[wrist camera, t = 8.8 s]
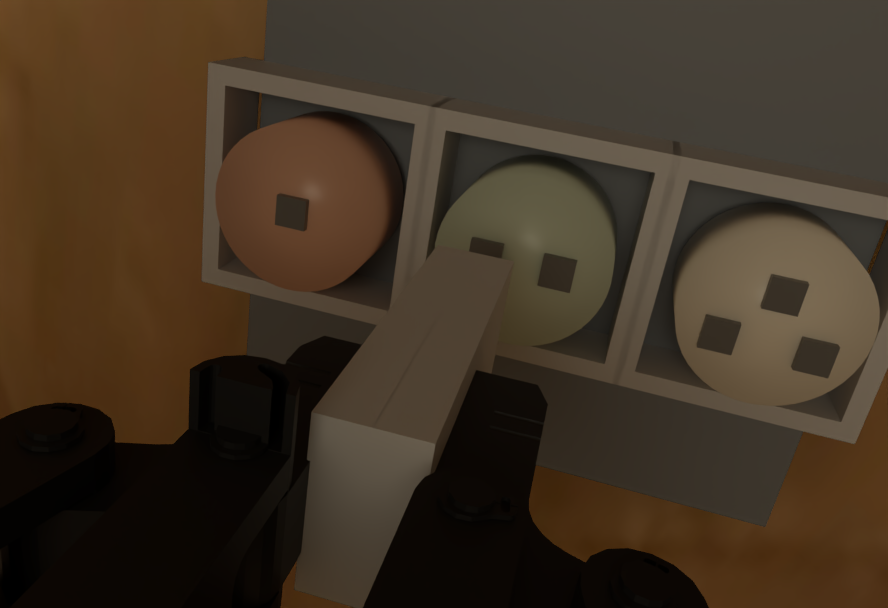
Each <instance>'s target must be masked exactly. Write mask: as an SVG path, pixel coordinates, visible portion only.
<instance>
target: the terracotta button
mask: <svg viewBox="0 0 888 608" xmlns="http://www.w3.org/2000/svg"><path fill="white" fill-rule="evenodd" d="M403 197H404V195H403V183H402V178H401V174H400V171H399V167H398V165H397V163H396V160H395V158H394V156H393V154H392V153H391V151H390V149H389V148H388V146H387V145H386V144H385V142H384V141H383V140H382V139H381V138H380V137H379V136H378V135H377V134H376V133H375V132H374V131H373V130H372V129H371V128H369V127H368V126H367V125H365V124H364V123H362V122H360V121H359V120H357V119H355V118H352V117H350V116H348V115H345V114H341V113H337V112H330V111H316V112H309V113H305V114H302V115H299V116H296V117H293V118H290V119H287V120H284V121H281V122H278V123H275V124H272V125H269V126H266V127H263V128H260V129H258V130H256V131H254V132H251V133H249V134H248V135H247V136H245V137H244V138H242V139H241V140H240V141H239V142H238V143H237V144H236V145H235V146H234V147H233V148H232V149H231V150H230V152H229V153H228V154H227V156H226V158H225V160H224V161H223V163H222V166H221V168H220V171H219V174H218V178H217V183H216V192H215V199H216V210H217V216H218V220H219V223H220V227H221V229H222V232H223V234H224V236H225V238H226V240H227V242H228V244H229V246H230V247H231V249H232V250H233V252H234V253H235V255H236V256H237V257H238V258H239V259H240V261H241V262H242V263H243V264H244V265H245V266H246V267H247V268H248V269H249V270H251V271H252V272H253V273H255V274H256V275H257V276H258V277H260V278H262V279H263V280H265V281H267V282H269V283H271V284H273V285H275V286H277V287H281V288H284V289H287V290H292V291H300V292H312V291H320V290H324V289H328V288H330V287H333V286H336V285H337V284H339V283H341V282H343V281H344V280H346V279H347V278H348V277H350V276H351V275H352V274H353V273H354V272H355V271H356V270H358V269H359V268H360V267H361V266H362V265H363V264H364V263H365V262H366V261H367V260H368V259H369V258H370V257H371V256H373V255H374V254H375V253H376V252H377V251H378V250H379V249H380V248H381V247H382V246H383V245H384V244H385V243H386V242H387V241H388V240H389V238H390V237H391V236H392V234H393V233H394V231H395V229H396V227H397V225H398V222H399V219H400V217H401V212H402V208H403Z"/></svg>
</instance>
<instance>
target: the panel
mask: <svg viewBox="0 0 888 608" xmlns="http://www.w3.org/2000/svg"><path fill="white" fill-rule="evenodd" d="M259 92H260V93H262V105H261V122H260V128H263V127H266V126H269V125H272V124H275V123H278V122H281V121H284V120H287V119H290V118H293V117H296V116H299V115H302V114H305V113H309V112H316V111H330V112H337V113H341V114H345V115H348V116H350V117H352V118H355V119H357V120H359V121H360V122H362V123H364V124H365V125H367V126H368V127H369V128H371V129H372V130H373V131H374V132H375V133H376V134H377V135H378V136H379V137H380V138H381V139H382V140H383V141H384V142H385V144H386V145H387V146H388V148H389V149H390V151H391V153H392V154H393V156H394V158H395V160H396V163H397V165H398V167H399V171H400V174H401V178H402V183H403V195H404V197H403V208H402V212H401V217H400V219H399V222H398V225H397V227H396V229H395V231H394V233H393V234H392V236H391V237H390V238H389V240H388V241H387V242H386V243H385V244H384V245H383V246H382V247H381V248H380V249H379V250H378V251H377V252H376V253H375V254H374V255H373V256H371V257H370V258H369V259H368V260H367V261H366V262H365V263H364V264H363V265H362V266H361V267H360V268H359V269H358V270H356V271H355V272H354V273H353V274H352V275H351V276H350V277H348V278H347V279H346V280H344V281H343V282H341V283H339V284H337V285H336V286H333V287H330V288H328V289H324V290H320V291H312V292H300V291H292V290H287V289H284V288H281V287H277V286H275V285H273V284H271V283H269V282H267V281H265V280H263V279H262V278H260V277H258V276H257V275H256V274H255V273H253V272H252V271H251V270H249V269H248V268H247V267H246V266H245V265H244V264H243V263H242V262H241V261H240V259H239V258H238V257H237V256H236V255H235V253H234V252H233V250H232V249H231V247H230V246H229V244H228V242H227V240H226V238H225V236H224V234H223V232H222V229H221V227H220V223H219V220H218V216H217V210H216V199H215V192H216V183H217V178H218V174H219V171H220V168H221V166H222V163H223V161H224V160H225V158H226V156H227V154H228V153H229V152H230V150H231V149H232V148H233V147H234V146H235V145H236V144H237V143H238V142H239V141H240V140H241V139H242V138H244V137H245V136H247V135H248V134H249V133H251V132H254V131H256V130H257V118H258V101H259ZM524 155H546V156H552V157H556V158H560V159H563V160H565V161H568V162H570V163H573V164H574V165H576V166H578V167H579V168H581V169H583V170H584V171H585V172H586V173H588V174H589V175H590V176H591V177H592V178H593V179H594V180H595V181H596V182H597V183H598V184H599V185H600V186H601V188H602V189H603V190H604V192H605V193H606V195H607V197H608V199H609V201H610V203H611V205H612V208H613V210H614V214H615V218H616V222H617V247H616V254H615V262H614V269H613V276H612V281H611V285H610V288H609V291H608V294H607V296H606V298H605V300H604V302H603V304H602V306H601V307H600V309H599V310H598V312H597V313H596V314H595V316H594V317H593V318H592V319H591V320H590V321H589V322H588V323H587V324H586V325H584V326H583V327H582V328H581V329H580V330H578V331H576V332H575V333H573V334H572V335H570V336H568V337H566V338H563V339H561V340H559V341H555V342H552V343H549V344H543V345H535V346H520V345H512V344H507V343H503V342H500V341H498V344H497V348H496V353H495V358H494V363H493V368H492V373H491V374H495V375H499V376H503V377H507V378H511V379H515V380H520V381H524V382H528V383H532V384H536V385H538V386H539V388H540V390H541V392H542V394H543V396H544V398H545V400H546V402H547V403H548V406H547V411H546V416H545V421H544V426H543V431H542V436H541V441H540V446H539V451H538V456H537V461H536V465H538V466H542V467H546V468H549V469H553V470H557V471H560V472H564V473H568V474H571V475H575V476H579V477H582V478H586V479H590V480H594V481H597V482H601V483H605V484H608V485H612V486H616V487H619V488H623V489H627V490H631V491H634V492H638V493H642V494H645V495H649V496H653V497H656V498H660V499H664V500H667V501H671V502H675V503H679V504H682V505H686V506H690V507H693V508H697V509H701V510H704V511H708V512H712V513H716V514H719V515H723V516H727V517H730V518H734V519H738V520H741V521H745V522H749V523H753V524H756V525H760V526H764V527H765V526H766V524H767V521H768V519H769V516H770V514H771V511H772V509H773V506H774V504H775V501H776V499H777V496H778V494H779V491H780V488H781V486H782V483H783V481H784V478H785V476H786V473H787V471H788V468H789V466H790V463H791V461H792V458H793V456H794V453H795V451H796V448H797V446H798V443H799V441H800V438H801V436H802V433H803V431H804V432H808V433H812V434H816V435H820V436H824V437H828V438H832V439H836V440H840V441H844V442H848V443H852V444H855V442H856V440H857V438H858V435H859V433H860V431H861V429H862V426H863V424H864V422H865V419H866V417H867V415H868V412H869V410H870V408H871V405H872V403H873V401H874V398H875V396H876V394H877V391H878V389H879V387H880V384H881V382H882V380H883V377H884V375H885V373H886V370H887V368H888V230H887V232H886V235H885V237H884V240H883V243H882V245H881V248H880V250H879V253H878V255H877V258H876V260H875V263H874V265H873V268H872V270H871V273H870V275H869V276H870V278H871V280H872V282H873V284H874V286H875V289H876V292H877V296H878V301H879V308H880V319H879V326H878V332H877V335H876V338H875V341H874V344H873V346H872V348H871V350H870V352H869V354H868V356H867V357H866V359H865V360H864V362H863V363H862V365H861V366H860V367H859V368H858V369H857V370H856V371H855V372H854V374H853V375H851V376H850V377H849V378H848V379H847V380H846V381H844V382H843V383H842V384H840V385H839V386H837V387H836V388H834V389H833V390H831V391H829V392H827V393H825V394H823V395H821V396H819V397H816V398H814V399H811V400H808V401H804V402H800V403H796V404H790V405H782V406H765V405H755V404H750V403H745V402H742V401H738V400H735V399H732V398H730V397H728V396H725V395H723V394H721V393H720V392H718V391H716V390H714V389H713V388H711V387H710V386H709V385H707V384H706V383H705V382H703V381H702V380H701V379H700V378H699V377H698V376H697V375H696V374H695V373H694V371H693V370H692V369H691V367H690V366H689V365H688V363H687V362H686V360H685V358H684V356H683V354H682V352H681V349H680V347H679V344H678V340H677V336H676V328H675V315H674V303H673V290H672V284H673V274H674V270H675V266H676V263H677V260H678V257H679V255H680V253H681V252H682V250H683V248H684V246H685V245H686V243H687V242H688V241H689V239H690V238H691V237H692V236H693V235H694V234H695V233H696V231H697V230H698V229H700V228H701V227H702V226H703V225H704V224H706V223H707V222H708V221H710V220H711V219H713V218H714V217H716V216H718V215H720V214H722V213H724V212H726V211H728V210H731V209H734V208H737V207H740V206H744V205H749V204H756V203H780V204H787V205H791V206H795V207H798V208H801V209H803V210H806V211H808V212H811V213H812V214H814V215H816V216H817V217H819V218H821V219H822V220H823V221H825V222H826V223H827V224H828V225H830V226H831V227H832V229H833V230H834V231H835V232H836V233H837V234H838V235H839V236H840V238H841V239H842V240H843V241H844V243H845V244H846V245H847V246H848V248H849V249H850V250H851V251H852V253H853V254H854V255H855V256H856V258H857V259H858V260H859V261H860V263H861V264H862V265H863V267H864V268H865V270H866V271H867V269H868V267H869V264H870V261H871V259H872V256H873V254H874V251H875V249H876V246H877V244H878V241H879V239H880V236H881V234H882V231H883V229H884V226H885V224H886V221H887V220H888V0H268V3H267V20H266V37H265V54H264V61H263V60H258V59H253V58H248V57H241V58H234V59H227V60H220V61H213V62H208V90H207V122H206V154H205V186H204V217H203V249H202V282H206V283H210V284H214V285H218V286H222V287H226V288H230V289H234V290H238V291H242V292H246V293H250V309H249V326H248V343H247V355H248V356H255V357H262V358H267V359H270V360H273V361H275V362H278V363H281V364H286V361H287V359H288V358H289V357H290V356H291V355H292V354H293V353H294V352H295V351H296V350H297V349H298V348H299V347H300V346H301V345H303V344H306V343H308V342H310V341H313V340H315V339H317V338H320V337H322V336H328V337H332V338H337V339H341V340H345V341H349V342H353V343H357V344H361V345H362V344H363V343H364V342H365V341H366V339H367V338H368V337H369V335H370V334H371V333H372V331H373V330H374V329H375V327H376V326H377V325H378V323H379V322H380V321H381V319H382V318H383V317H384V315H385V314H386V313H387V311H388V310H389V309H390V307H391V306H392V305H393V303H394V302H395V301H396V300H397V298H398V297H399V296H400V294H401V293H402V292H403V290H404V289H405V288H406V286H407V285H408V284H409V282H410V281H411V280H412V278H413V277H414V276H415V274H416V273H417V272H418V270H419V269H420V268H421V266H422V265H423V264H424V262H425V261H426V260H427V258H428V257H429V256H430V255H431V253H432V252H433V251H434V249H435V243H436V238H437V234H438V231H439V228H440V226H441V223H442V221H443V219H444V217H445V215H446V214H447V212H448V211H449V209H450V208H451V207H452V205H453V204H454V203H455V202H456V201H457V200H458V199H459V198H460V197H461V196H462V195H463V193H464V192H465V191H466V190H467V189H468V188H469V187H470V186H471V185H472V184H473V183H474V182H475V181H476V180H477V179H478V178H479V177H480V176H481V175H482V174H483V173H484V172H486V171H487V170H488V169H489V168H491V167H493V166H494V165H496V164H498V163H500V162H502V161H505V160H507V159H510V158H514V157H518V156H524Z"/></svg>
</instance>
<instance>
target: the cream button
mask: <svg viewBox="0 0 888 608" xmlns="http://www.w3.org/2000/svg"><path fill="white" fill-rule="evenodd" d="M672 290H673V303H674V315H675V328H676V336H677V340H678V344H679V347H680V349H681V352H682V354H683V356H684V358H685V360H686V362H687V363H688V365H689V366H690V367H691V369H692V370H693V371H694V373H695V374H696V375H697V376H698V377H699V378H700V379H701V380H702V381H703V382H705V383H706V384H707V385H709V386H710V387H711V388H713V389H714V390H716V391H718V392H720V393H721V394H723V395H725V396H728V397H730V398H732V399H735V400H738V401H742V402H745V403H750V404H755V405H765V406H782V405H790V404H796V403H800V402H804V401H808V400H811V399H814V398H816V397H819V396H821V395H823V394H825V393H827V392H829V391H831V390H833V389H834V388H836V387H837V386H839V385H840V384H842V383H843V382H844V381H846V380H847V379H848V378H849V377H850V376H851V375H853V374H854V372H855V371H856V370H857V369H858V368H859V367H860V366H861V365H862V363H863V362H864V360H865V359H866V357H867V356H868V354H869V352H870V350H871V348H872V346H873V344H874V341H875V338H876V335H877V332H878V326H879V319H880V308H879V301H878V296H877V292H876V289H875V286H874V284H873V282H872V280H871V278H870V276H869V274H868V272H867V271H866V270H865V268H864V267H863V265H862V264H861V263H860V261H859V260H858V259H857V258H856V256H855V255H854V254H853V253H852V251H851V250H850V249H849V248H848V246H847V245H846V244H845V243H844V241H843V240H842V239H841V238H840V236H839V235H838V234H837V233H836V232H835V231H834V230H833V229H832V227H831V226H830V225H828V224H827V223H826V222H825V221H823V220H822V219H821V218H819V217H817V216H816V215H814V214H812V213H811V212H808V211H806V210H803V209H801V208H798V207H795V206H791V205H787V204H780V203H756V204H749V205H744V206H740V207H737V208H734V209H731V210H728V211H726V212H724V213H722V214H720V215H718V216H716V217H714V218H713V219H711V220H710V221H708V222H707V223H706V224H704V225H703V226H702V227H701V228H700V229H698V230H697V231H696V233H695V234H694V235H693V236H692V237H691V238H690V239H689V241H688V242H687V243H686V245H685V246H684V248H683V250H682V252H681V253H680V255H679V257H678V260H677V263H676V266H675V270H674V274H673V284H672Z"/></svg>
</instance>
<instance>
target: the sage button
mask: <svg viewBox="0 0 888 608" xmlns="http://www.w3.org/2000/svg"><path fill="white" fill-rule="evenodd" d="M437 245H442V246H446V247H451V248H455V249H460V250H464V251H469V252H474V253H478V254H483V255H487V256H492V257H496V258H501V259H505V260H510V261H514V264H513V269H512V274H511V279H510V284H509V289H508V294H507V299H506V304H505V309H504V314H503V319H502V324H501V329H500V334H499V339H498V341H500V342H503V343H507V344H512V345H520V346H535V345H543V344H549V343H552V342H555V341H559V340H561V339H563V338H566V337H568V336H570V335H572V334H573V333H575V332H576V331H578V330H580V329H581V328H582V327H583V326H584V325H586V324H587V323H588V322H589V321H590V320H591V319H592V318H593V317H594V316H595V314H596V313H597V312H598V310H599V309H600V307H601V306H602V304H603V302H604V300H605V298H606V296H607V294H608V291H609V288H610V285H611V281H612V276H613V269H614V262H615V254H616V247H617V222H616V218H615V214H614V210H613V208H612V205H611V203H610V201H609V199H608V197H607V195H606V193H605V192H604V190H603V189H602V188H601V186H600V185H599V184H598V183H597V182H596V181H595V180H594V179H593V178H592V177H591V176H590V175H589V174H588V173H586V172H585V171H584V170H583V169H581V168H579V167H578V166H576V165H574V164H573V163H570V162H568V161H565V160H563V159H560V158H556V157H552V156H546V155H524V156H518V157H514V158H510V159H507V160H505V161H502V162H500V163H498V164H496V165H494V166H493V167H491V168H489V169H488V170H487V171H486V172H484V173H483V174H482V175H481V176H480V177H479V178H478V179H477V180H476V181H475V182H474V183H473V184H472V185H471V186H470V187H469V188H468V189H467V190H466V191H465V192H464V193H463V195H462V196H461V197H460V198H459V199H458V200H457V201H456V202H455V203H454V204H453V205H452V207H451V208H450V209H449V211H448V212H447V214H446V215H445V217H444V219H443V221H442V223H441V226H440V228H439V231H438V234H437V238H436V243H435V248H436V247H437Z"/></svg>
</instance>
